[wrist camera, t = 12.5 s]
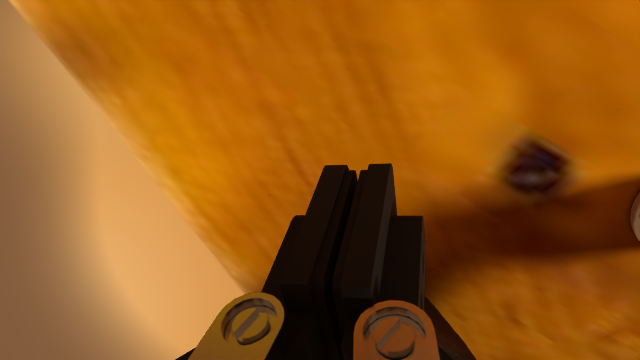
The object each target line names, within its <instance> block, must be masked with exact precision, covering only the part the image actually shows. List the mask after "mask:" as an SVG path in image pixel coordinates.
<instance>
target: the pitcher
mask: <svg viewBox="0 0 640 360" xmlns="http://www.w3.org/2000/svg"><path fill="white" fill-rule="evenodd" d="M424 312H425V313H426V314H427V315H428V317H429V318H430V319H431V321H432V324H433V327H434V329H435V334H436V340H437V345H438V346H439V347H440V348H441V349H443V350H444V351H445V352H446V353H447V354H448V355H449V356H450V357H451V358H452V359H453V360H476V358H475V357H474V355H473V354H472V353H471V351H470V350H469V349H468V347H467V345H466V344H465V343H464V341H463V340H462V339H461V338H460V337H459V335H458V334H457V333H456V332H455V331H454V330H453V328H452V327H451V326H450V325H449V323H448V322H447V321H446V320H445V319H444V317H443V316H442V315H441V314H440V312H439V311H438V310H437V309H436V308H435V306H434V305H433V304H432V303H431V302H430V301H429V300H428V299H427V298H426V297H424Z"/></svg>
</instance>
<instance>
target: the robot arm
mask: <svg viewBox="0 0 640 360" xmlns="http://www.w3.org/2000/svg"><path fill="white" fill-rule="evenodd" d="M630 223H631V227H632V230H633V232H634V233H635V235H636V237H637V239H638V240H639V241H640V192H639V194H638V196H637V197H636V199H635V200H634V202H633V205H632V208H631V211H630ZM424 294H425V235H424V219H423V216H397V207H396V197H395V187H394V176H393V167H392V164H391V163H390V164H369V166H368V170H361V171H360V175H359V178H358V181H357V175H356V171H355V170H349V168H348V166H347V165H326V166H325V167H324V168H323V171H322V174H321V176H320V179H319V181H318V184H317V186H316V189H315V192H314V194H313V197H312V199H311V202H310V204H309V207H308V210H307V212H306V215H296V216H295V217H293V219H292V221H291V223H290V226H289V228H288V230H287V233H286V235H285V237H284V240H283V242H282V244H281V247H280V249H279V252H278V254H277V256H276V259H275V261H274V263H273V266H272V268H271V271H270V273H269V275H268V278H267V280H266V282H265V285H264V287H263V290H262V292H261V293H258V292H255V293H250V294H245V295H243V296H241V297H238V298H236V299H234V300H233V301H232V302H230V303H229V304H227V305H226V306H225V307H224V308H223V309H222V311H221V312H220V313H219V314H218V316H217V317H216V319H215V320H214V322H213V323H212V324H211V326H210V327H209V329H208V330H207V332H206V333H205V335H204V336H203V338H202V339H201V341H200V342H199V344H198V345H197V347H196V348H194V349H192V350H191V351H189V352H187V353H186V354H184V355H182V356H181V357H179V358H177V359H176V360H453V359H452V358H451V357H450V356H449V355H448V354H447V353H446V352H445V351H444V350H443V349H441V348H440V347H439V346H438V345H437V340H436V334H435V329H434V327H433V324H432V321H431V319H430V318H429V317H428V315H427V314H426V313H425V312H424Z"/></svg>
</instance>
